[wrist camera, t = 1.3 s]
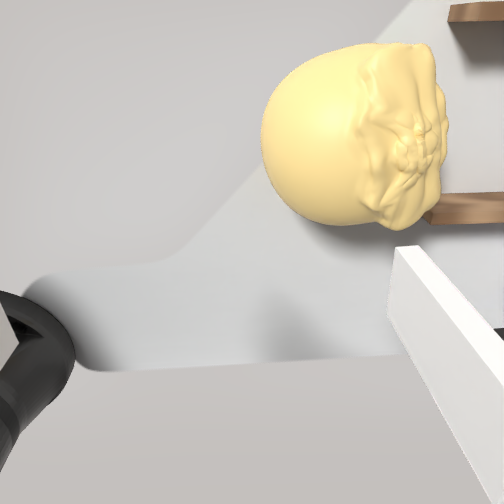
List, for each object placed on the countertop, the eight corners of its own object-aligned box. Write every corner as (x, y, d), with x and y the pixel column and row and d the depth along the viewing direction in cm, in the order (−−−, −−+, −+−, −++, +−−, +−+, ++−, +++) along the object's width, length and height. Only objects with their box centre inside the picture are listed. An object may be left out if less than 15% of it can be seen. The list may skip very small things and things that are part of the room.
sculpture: (414, 171, 33) (485, 228, 24) (277, 209, 34) (294, 277, 25) (402, 21, 28) (489, 17, 18) (239, 72, 29) (242, 94, 20)
